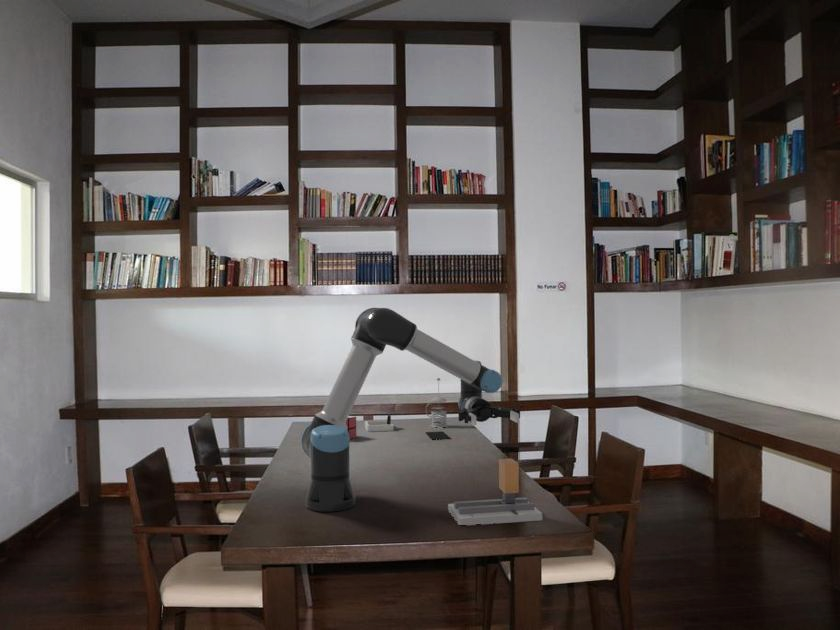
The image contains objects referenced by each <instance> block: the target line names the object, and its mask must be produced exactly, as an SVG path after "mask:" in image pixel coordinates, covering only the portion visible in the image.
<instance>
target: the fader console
mask: <svg viewBox="0 0 840 630" xmlns="http://www.w3.org/2000/svg"><path fill="white" fill-rule="evenodd" d="M500 501H502V498H497V499H496V498H494V499H481V500H479V499H478V500H463V501H461V500H460V501H454V502H453V503H448V504H447V509H448V510H449V511H448V510H447V511H448V512H449V514H450V513H451V514H450V515H451V517H452V518H453V517H454V518H453V520H454V521H455V522H456V521H457V522H456V523H457V525H458V526H459V525H467V526H477V525H476V524H481V525H493V524H494V523H495V524H507V523H509V524H510V523H521V522H522V523H523V522H535V521H537V522H538V521H543V512H541V511H540V510H539V509H538V508H537V507H535V503H534V502H529V499H528V497H515V501H516V502H517V503H516V504H500Z"/></svg>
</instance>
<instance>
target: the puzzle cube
mask: <svg viewBox="0 0 840 630" xmlns="http://www.w3.org/2000/svg"><path fill="white" fill-rule="evenodd" d="M346 425H347V428H348V429H347V430H348V432H349V438H350V440H353V439H356V438H357V417H356V416H353V415H349V416H348V418H347V420H346Z"/></svg>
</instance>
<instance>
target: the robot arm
mask: <svg viewBox="0 0 840 630" xmlns="http://www.w3.org/2000/svg"><path fill="white" fill-rule="evenodd" d="M417 326H418V325H417V324H416V323H414V322H413V321H410V320H409V319H407V318H405V317H404V316H402V315H401V314H400V313H398V312H396V311H395V310H393V309H390V308H388V307H370V308H367V309H365V310H363V311H362V312H361V313H360V314H359V315H358V316H357V318H356V320H355V325H354V330H353V334H352V335H351V337H350V340H351V343H352V346H351V348H350V351H349V353H348V354H347V357H346V359H345V361H344V364H343V366H342V368H341V370H340V372H339V374H338V376H337V378H336V381H335V383H334V384H333V387H332V389H331V391H330V394H329V396H328V398H327V399H326V402H325V404H324V406H323V408H322V410H320V411H319V412H317V413H315V414H314V417H313V419H312V420H311V423H310V424H309V425H308V426H306V428H304V431H303V432H302V436H301V446H302V447H301V448H302V449H303V451H304V453H305V455H307V456H308V458H310V462H311V463H310V468H311V469H310V471H311V472H310V473H311V474H310V475H311V476H310V479H311V480H310V483H309V487H308V490H307V493H306V497H305V507H306V508H307V509H308V510H310V511H315V512H321V513H322V512H325V513H327V512H329V513H330V512H339V511H341V512H342V511H344V510H345V511H346V510H348V509H351V508H353V507H355V505H356V495H355V492H354V488H353V485H352V482H351V480H350V479H351V478H350V442H351V441H350V440H351V439H350V438H349V432H348V430H347V429H348V428H347V425H346V420H347V418H348V416H350V414H351V411H352V409H353V408H354V405H355V403H356V400H357V398H358V397H359V394H360V392H361V390H362V387H363V385H364V384H365V381H366V378H367V377H368V374H369V372H370V371H371V368H372V365H373V364H374V361H375V359H376V357H377V356H379V355H382V354H383V353H384V351H385V348H386V347H387V346H391V347H394V348H395V349H398V350H400V351H402V352H403V351H408V352H410V353H412V354H413V355H415V356H416V357H419V358H421V359H422V360H424V361H426V362H428V363H430V364H431V365H434V366H436V367H437V368H439V369H441V370H443V371H444V372H447V373H449V374H451V375H452V376H454V377H456V378H458V379H460V396H459V398H458V402H457V403H458V404H457V405H458V409H460V411H459V412H457V413H458V421H459V422H462V421H464V424H469V423H471V425H473V426H475V425H477V422H480V423H483V422H486V421H487V420H489V419H498V418H503V419H510V420H511V421H513V422H514V423H516V424H520V418H521V410H520V409H516V408H508V407H503V406H499V407H497V406H492V405H491V403H490V402H489V401H487V400H486V399H484V398H483V392H485V393H487V394H491V393H492V394H493V393H496V392H498V391H499V390H500V389H502V388H501V387H502V386H503V377H502V375H501V374H500V372H498V371H496V370H495V369H490V368H488V367H486V366H484V365H483V364H482V361H480V360H473V359H471V358H470V357H469V356H466V355H465V354H463V353H461V352H459V351H457V350H456V349H454V348H452V347H451V346H449V345H447V344H445V343H443V342H441V341H440V340H438V339H436V338H434V337H432V336H431V335H429V334H427V333H425V332H423V331H422V330H420V329H418V327H417Z"/></svg>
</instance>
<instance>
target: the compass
mask: <svg viewBox="0 0 840 630" xmlns="http://www.w3.org/2000/svg"><path fill="white" fill-rule="evenodd" d="M386 419H387V425H388V424H390V423H391V422H392V421H391V420H392V416H391V414H387V418H386Z"/></svg>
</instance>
